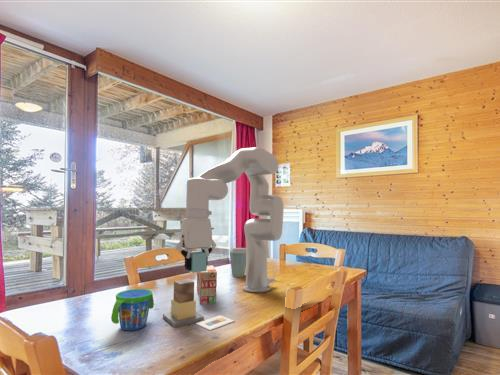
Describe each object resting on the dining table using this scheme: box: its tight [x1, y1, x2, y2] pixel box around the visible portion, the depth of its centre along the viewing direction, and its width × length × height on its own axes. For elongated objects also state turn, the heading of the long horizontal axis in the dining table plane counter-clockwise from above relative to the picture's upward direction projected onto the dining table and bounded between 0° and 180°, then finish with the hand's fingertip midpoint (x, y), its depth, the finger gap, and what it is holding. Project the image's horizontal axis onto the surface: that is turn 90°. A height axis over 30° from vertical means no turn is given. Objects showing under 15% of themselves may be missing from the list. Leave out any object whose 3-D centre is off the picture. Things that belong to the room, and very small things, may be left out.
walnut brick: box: [173, 278, 195, 303], centre depth 100 cm, size 5×5×6 cm
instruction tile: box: [195, 314, 235, 331], centre depth 97 cm, size 10×7×1 cm
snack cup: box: [110, 288, 155, 331], centre depth 94 cm, size 16×10×10 cm
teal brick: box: [186, 250, 208, 274], centre depth 102 cm, size 5×5×6 cm
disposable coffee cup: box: [228, 247, 246, 278], centre depth 163 cm, size 11×11×15 cm
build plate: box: [162, 298, 205, 328], centre depth 100 cm, size 10×10×6 cm
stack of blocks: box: [196, 264, 218, 305], centre depth 126 cm, size 21×6×12 cm, turn 14°
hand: (196, 268), depth 101 cm, fingers closed on teal brick, 5 cm apart
